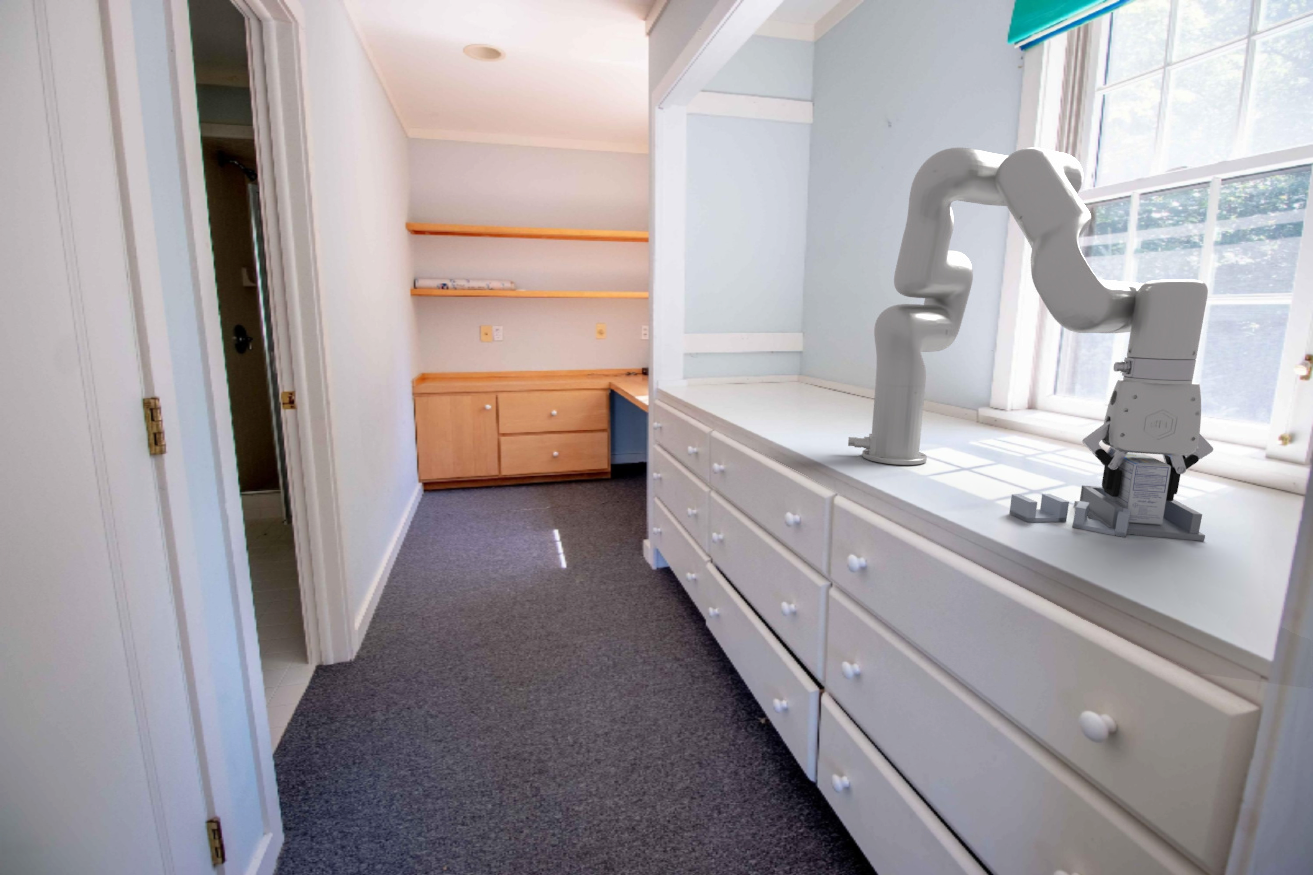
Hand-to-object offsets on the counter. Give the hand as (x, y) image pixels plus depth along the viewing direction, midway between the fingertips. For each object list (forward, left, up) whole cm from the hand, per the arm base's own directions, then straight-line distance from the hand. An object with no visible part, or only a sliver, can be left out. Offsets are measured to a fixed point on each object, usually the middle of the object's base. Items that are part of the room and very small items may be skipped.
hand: (1137, 495), depth 89 cm
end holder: (0, 0, -4) cm, 4 cm away
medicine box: (0, 0, -3) cm, 3 cm away
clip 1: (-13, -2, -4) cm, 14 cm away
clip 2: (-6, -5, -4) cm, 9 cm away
